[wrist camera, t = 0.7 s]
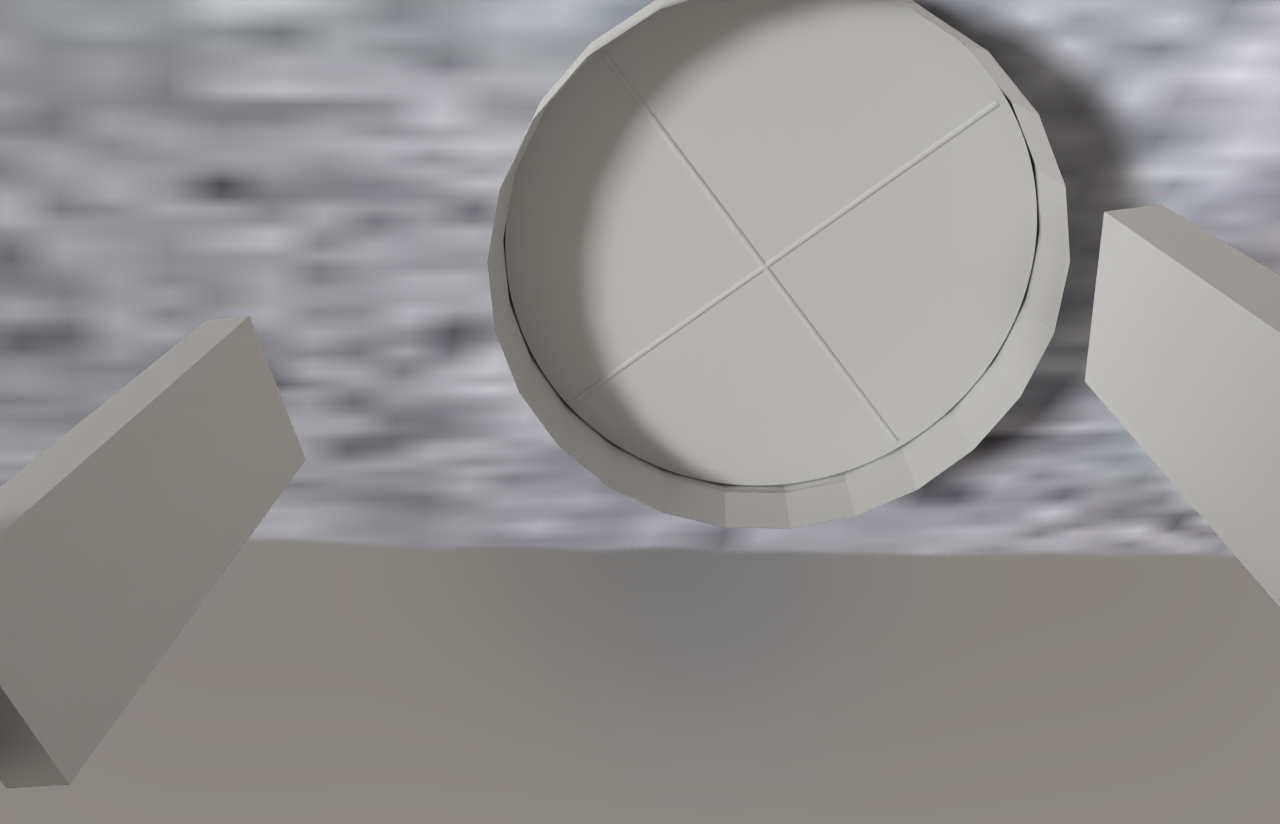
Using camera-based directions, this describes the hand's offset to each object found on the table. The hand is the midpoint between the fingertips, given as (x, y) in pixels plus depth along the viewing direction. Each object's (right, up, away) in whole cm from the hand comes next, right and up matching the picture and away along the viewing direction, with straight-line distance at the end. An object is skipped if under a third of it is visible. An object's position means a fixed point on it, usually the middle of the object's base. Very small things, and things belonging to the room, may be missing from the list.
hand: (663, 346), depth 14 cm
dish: (+5, +6, +24) cm, 25 cm away
